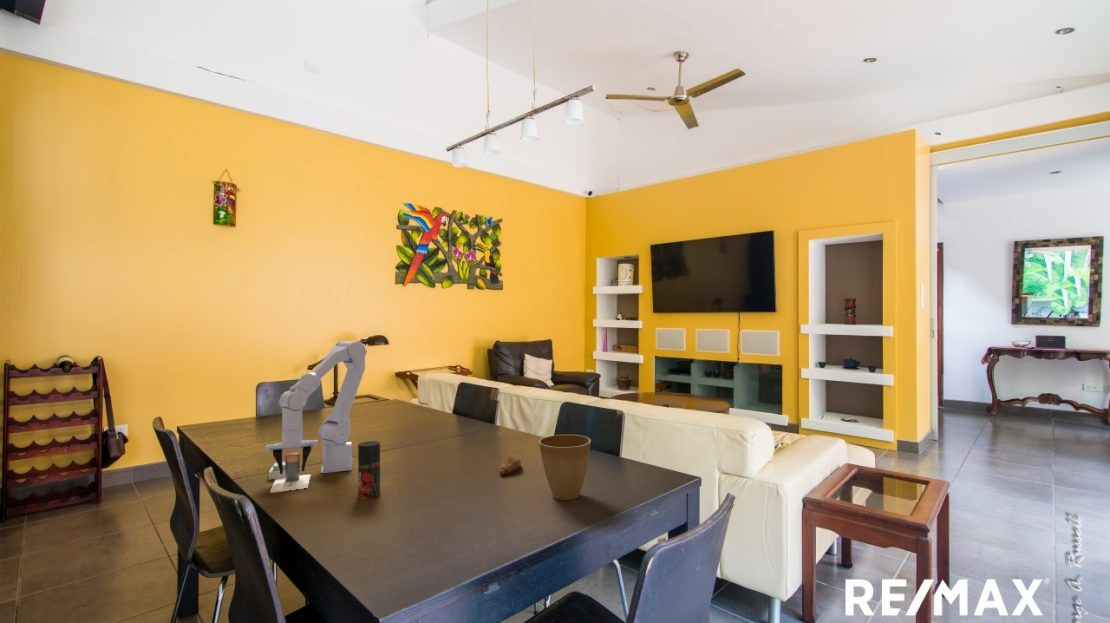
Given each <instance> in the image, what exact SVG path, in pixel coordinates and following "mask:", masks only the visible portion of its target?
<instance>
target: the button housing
mask: <svg viewBox="0 0 1110 623" xmlns="http://www.w3.org/2000/svg"><path fill="white" fill-rule="evenodd" d="M282 477H285V470H283V474H280V470H278V471H273V466H271V468H270V470H269V471H268V480H269V481H270V480H271V479H273V480H276V478H282Z"/></svg>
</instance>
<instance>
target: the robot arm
mask: <svg viewBox="0 0 1110 623" xmlns="http://www.w3.org/2000/svg"><path fill="white" fill-rule="evenodd" d="M367 353H368V351H367V348H366V347H365V345H364V344H363V342H362V341H359V340H355V341H352V340H351V341H347V340H340V341H338V342H336V344H335V345H333V346H332V347H331V349H330V351H329V352H328V354H327V355H326V356H325V358H324V359H322V360H321V362H320V363H319V364H318V365H317V366H316V368H315V369H314V370H313V371H312V372H306V373H305V374H301V375H300V379H299V380H298V381H297V382H296V383H295V384H294V385H292V386H290V388H289V390H287V391H284V392H283V393H281V395H280V397H279V400H278V401H277V402H278V403H277V404H278V405H279V407H280V408H281V414H282V417H281V420H282V422H281V428H282V429H281V430H282V432H281V433H282V435H281V441H282V442H277V443H271V444H266V445H265V453H270V452H272V455H273V458H274V459H275V461H276V463H277V464H278V466H279V470H280V474H283V463H282V462H283V451H286V450H287V451H288V450H297V449H302V463H301V472H305V468H306V463H307V461H308V458H309V456H310V454H311V451H312V448H318V446H319V443H318V442H319V441H318V439H306V440H303V432H304V431H303V430H304V429H303V408H304V407H305V406H306V404H307V400H308V398H309V397H310V396H311V395H312V394H313V393H314V392H315V390H317V389H318V387H320V385H321V384H322V380H321V379H322V378H323V377H324V376H325V375H326V374H328V373H329V372H330V371H331V370H332V369H333V368H334V367H335V366H336V365H337V364H339V363H343V364H344V366H345V368H346V369H347V370H346V372H345V375H344V378H343V381H342V384H341V387H340V390H339V392H338V394H337V398H336V400H335V403H334V406H333V410H332V411H331V413H330V414H328V415H327V416H326V417H325V419H324V421H323V423H322V424H321V425H320V426H319V428H318V433H317V434H318V437H319V438H320V440H321V443H322V466H321V469H320V470H321V471H320V473H321V474H329V473H336V472H345V471H352V470H353V469H352V468H353V466H352V465H353V463H354V458H353V457H352V456H353V455H352V454H353V447H352V446H353V445H352V444H353V442H352V441H347V440H349V438H350V435H351V430H350V429H351V425H352V422H351V420H350V418H349V416H350V413H351V409H352V407H353V404H354V402H355V398H356V395H357V392H358V390H359V387H360V384H361V381H362V378H363V375H364V372H365V370H366V355H367Z"/></svg>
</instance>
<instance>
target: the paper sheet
mask: <svg viewBox="0 0 1110 623" xmlns="http://www.w3.org/2000/svg"><path fill="white" fill-rule="evenodd" d="M311 476H312V474H309V473H308V474H301V475H300V479H299V480H297V481H293V482H286V481H285V477H282V478H276V479H274V481H273V482H274V483H273V485H272V487H271V488H270V491H269V494H274V493H282V492H289V490H291V491H297V490H296V489H299V490H305V489H304V488H307V489H309V485H310V484H309V483H310V481H309V480H311ZM308 484H309V485H308Z"/></svg>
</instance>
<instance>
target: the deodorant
mask: <svg viewBox="0 0 1110 623" xmlns="http://www.w3.org/2000/svg"><path fill="white" fill-rule="evenodd" d="M357 445H358V447H357V449H358V450H357V451H358V452H357V456H358V457H357V460H358V461H357V462H358V463H357V465H358V468H357V470H358V471H357V472H358V473H357V480H358V481H357V484H358V487H357V491H358V492H357V497H358V499H361V500H371V499H375V498H378V497H379V496H380V495H381V442H380V441H378V440H369V441H362V442H359V443H358V444H357Z"/></svg>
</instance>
